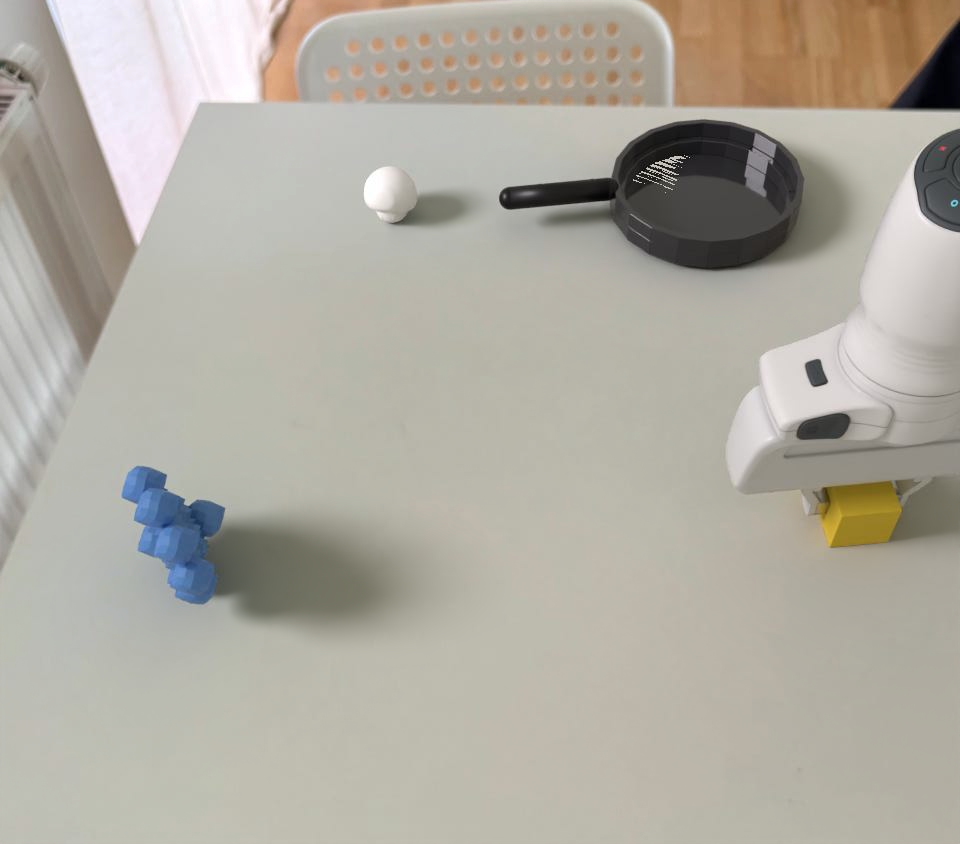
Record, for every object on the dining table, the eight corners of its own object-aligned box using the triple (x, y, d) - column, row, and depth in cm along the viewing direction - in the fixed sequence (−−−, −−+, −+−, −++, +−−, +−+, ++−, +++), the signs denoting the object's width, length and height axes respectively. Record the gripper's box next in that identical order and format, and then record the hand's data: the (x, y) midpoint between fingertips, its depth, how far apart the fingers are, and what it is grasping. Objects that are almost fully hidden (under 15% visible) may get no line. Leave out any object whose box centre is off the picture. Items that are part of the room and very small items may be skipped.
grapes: (277, 609, 81) (240, 513, 71) (192, 653, 79) (142, 561, 69) (213, 503, 87) (171, 400, 77) (133, 541, 85) (79, 441, 75)
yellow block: (863, 474, 85) (877, 441, 82) (887, 542, 82) (902, 510, 78) (807, 480, 85) (818, 447, 82) (829, 548, 82) (841, 516, 78)
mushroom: (361, 230, 104) (354, 185, 100) (375, 197, 106) (368, 152, 102) (412, 235, 103) (407, 191, 99) (424, 202, 106) (420, 157, 101)
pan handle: (616, 190, 102) (617, 172, 100) (619, 204, 101) (621, 186, 99) (498, 201, 102) (497, 183, 100) (500, 215, 101) (499, 197, 99)
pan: (772, 143, 108) (778, 111, 105) (816, 262, 99) (825, 230, 96) (598, 159, 108) (599, 128, 105) (626, 280, 98) (628, 249, 96)
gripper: (1043, 327, 73) (974, 458, 84) (736, 355, 73) (709, 483, 84) (1080, 398, 69) (1003, 525, 81) (758, 428, 69) (726, 551, 81)
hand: (850, 504), depth 82 cm, fingers closed on yellow block, 4 cm apart
